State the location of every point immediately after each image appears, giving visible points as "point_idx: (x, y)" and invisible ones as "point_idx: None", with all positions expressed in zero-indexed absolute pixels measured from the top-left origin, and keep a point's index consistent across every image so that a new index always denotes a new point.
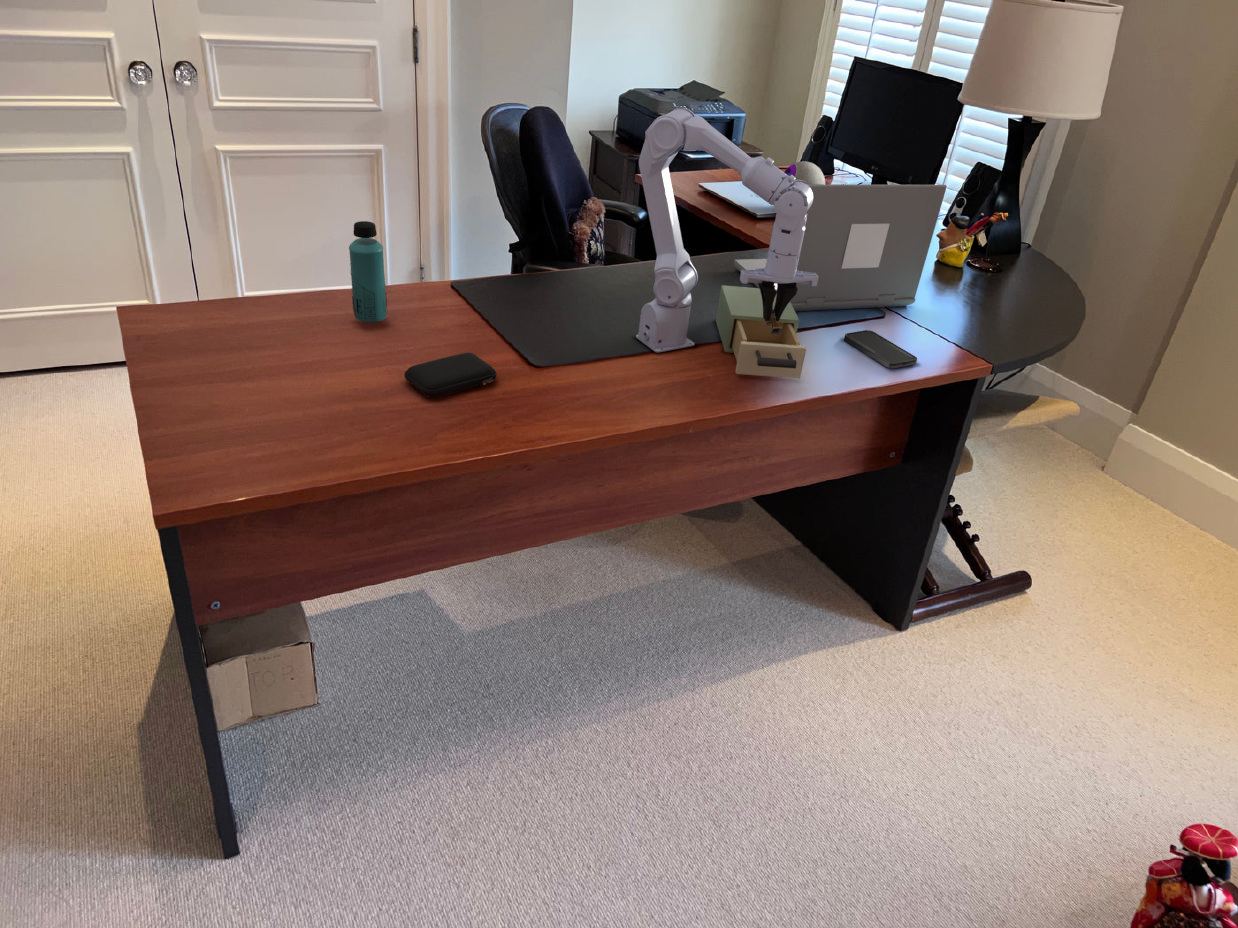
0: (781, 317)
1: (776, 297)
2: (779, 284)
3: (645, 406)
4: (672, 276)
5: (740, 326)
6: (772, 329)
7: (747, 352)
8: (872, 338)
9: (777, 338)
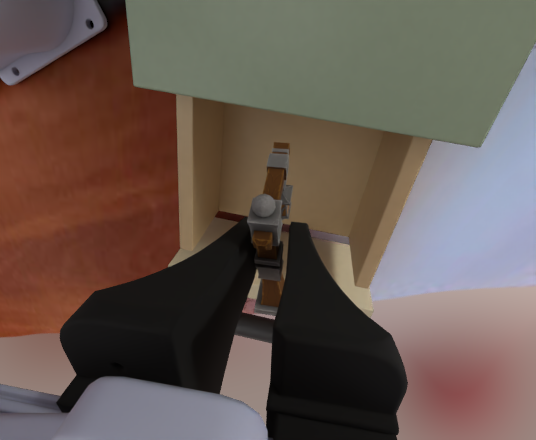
0: (393, 113)
1: (286, 273)
2: (271, 366)
3: (48, 290)
4: None
5: (183, 151)
6: (256, 301)
7: None
8: None
9: None
